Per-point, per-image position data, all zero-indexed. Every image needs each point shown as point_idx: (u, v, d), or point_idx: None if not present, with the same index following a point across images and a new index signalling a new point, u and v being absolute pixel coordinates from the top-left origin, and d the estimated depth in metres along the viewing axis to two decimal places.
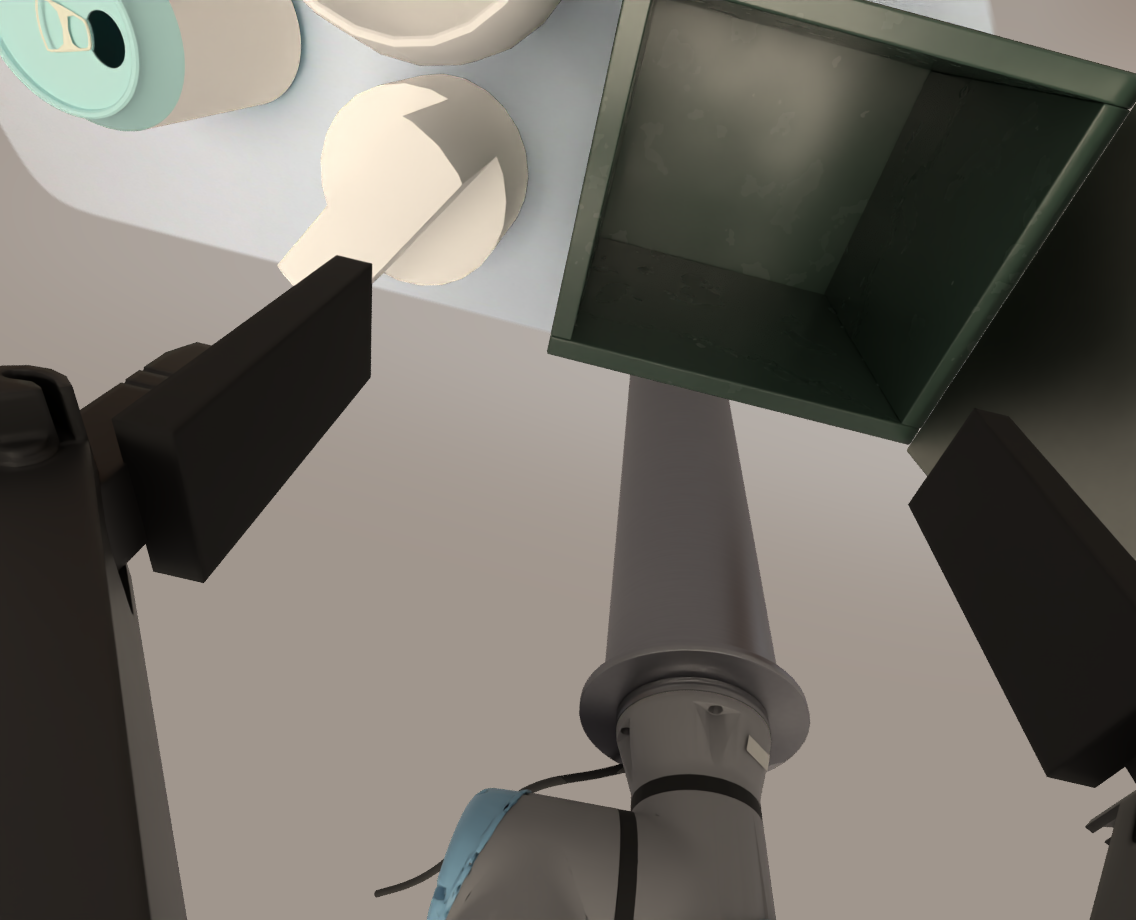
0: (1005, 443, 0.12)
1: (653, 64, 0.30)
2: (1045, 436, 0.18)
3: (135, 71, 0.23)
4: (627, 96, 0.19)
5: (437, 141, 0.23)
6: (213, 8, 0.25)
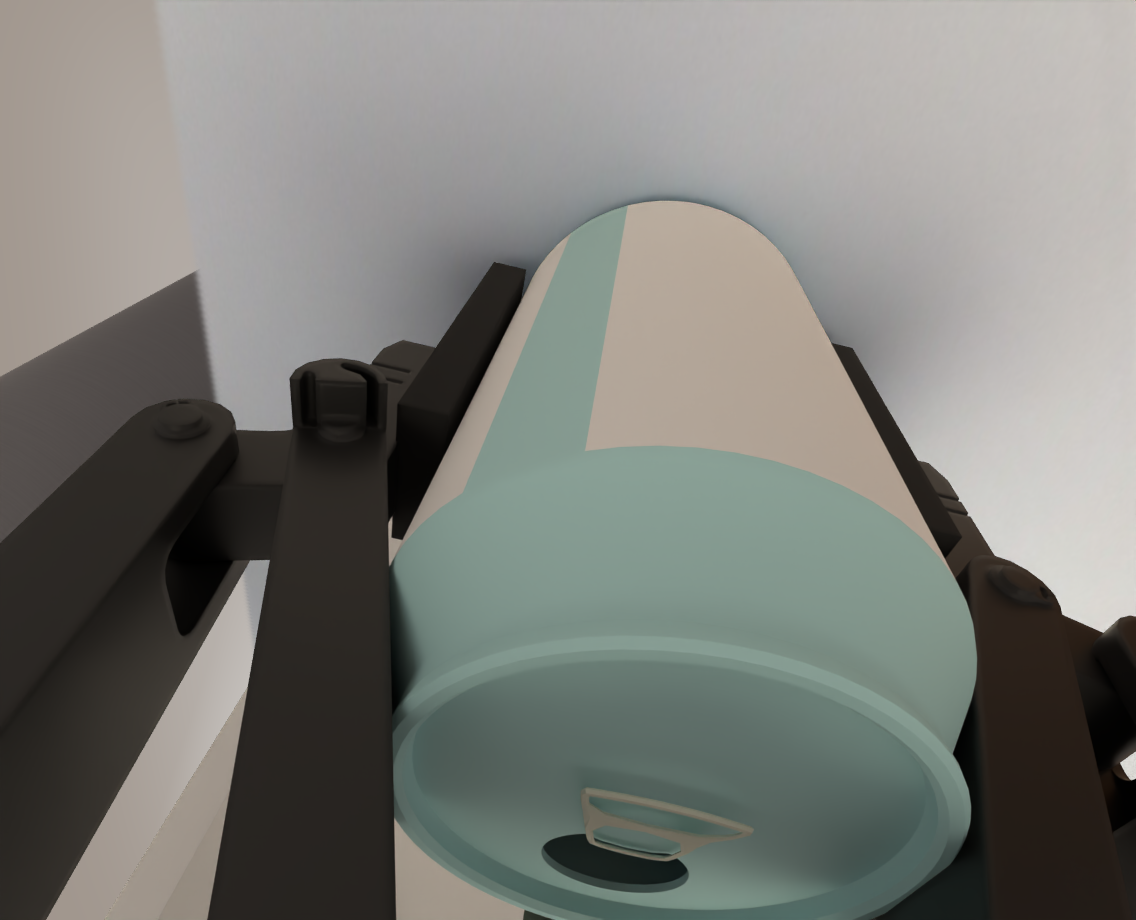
0: None
1: None
2: None
3: (534, 903, 0.08)
4: None
5: None
6: None
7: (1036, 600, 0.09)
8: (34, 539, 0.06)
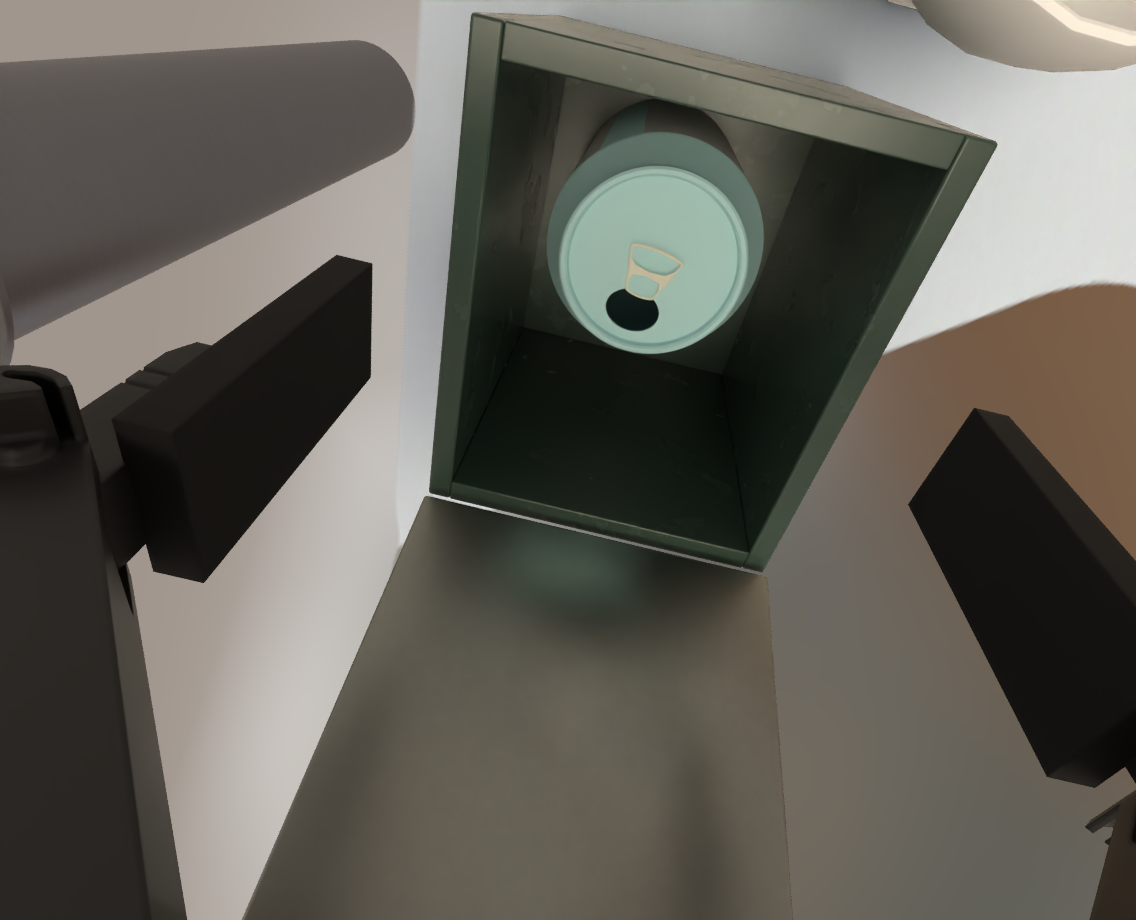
0: (1005, 443, 0.12)
1: None
2: (500, 629, 0.19)
3: (598, 334, 0.21)
4: (835, 140, 0.15)
5: None
6: None
7: None
8: None
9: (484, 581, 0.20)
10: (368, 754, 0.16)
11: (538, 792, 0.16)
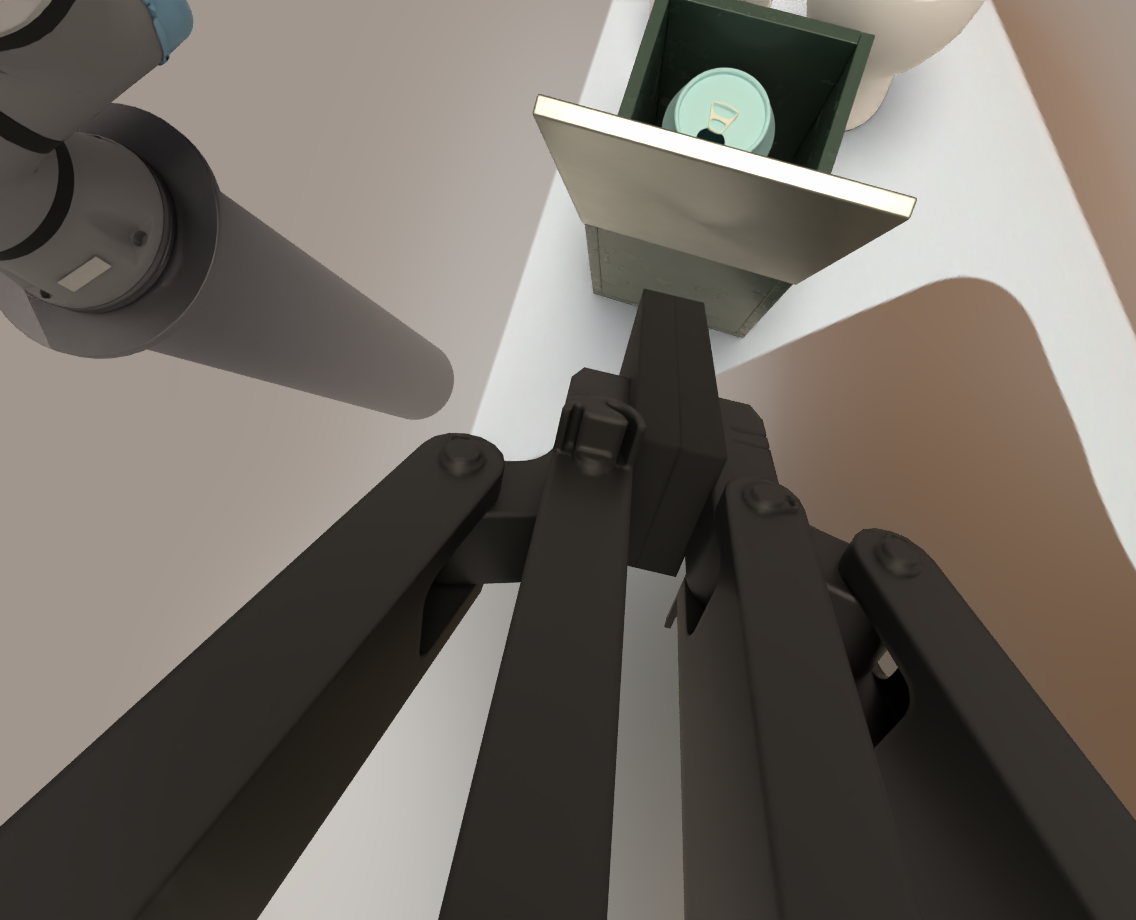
0: (677, 317, 0.14)
1: None
2: None
3: None
4: (809, 31, 0.36)
5: None
6: None
7: (784, 509, 0.09)
8: (337, 546, 0.07)
9: None
10: None
11: None
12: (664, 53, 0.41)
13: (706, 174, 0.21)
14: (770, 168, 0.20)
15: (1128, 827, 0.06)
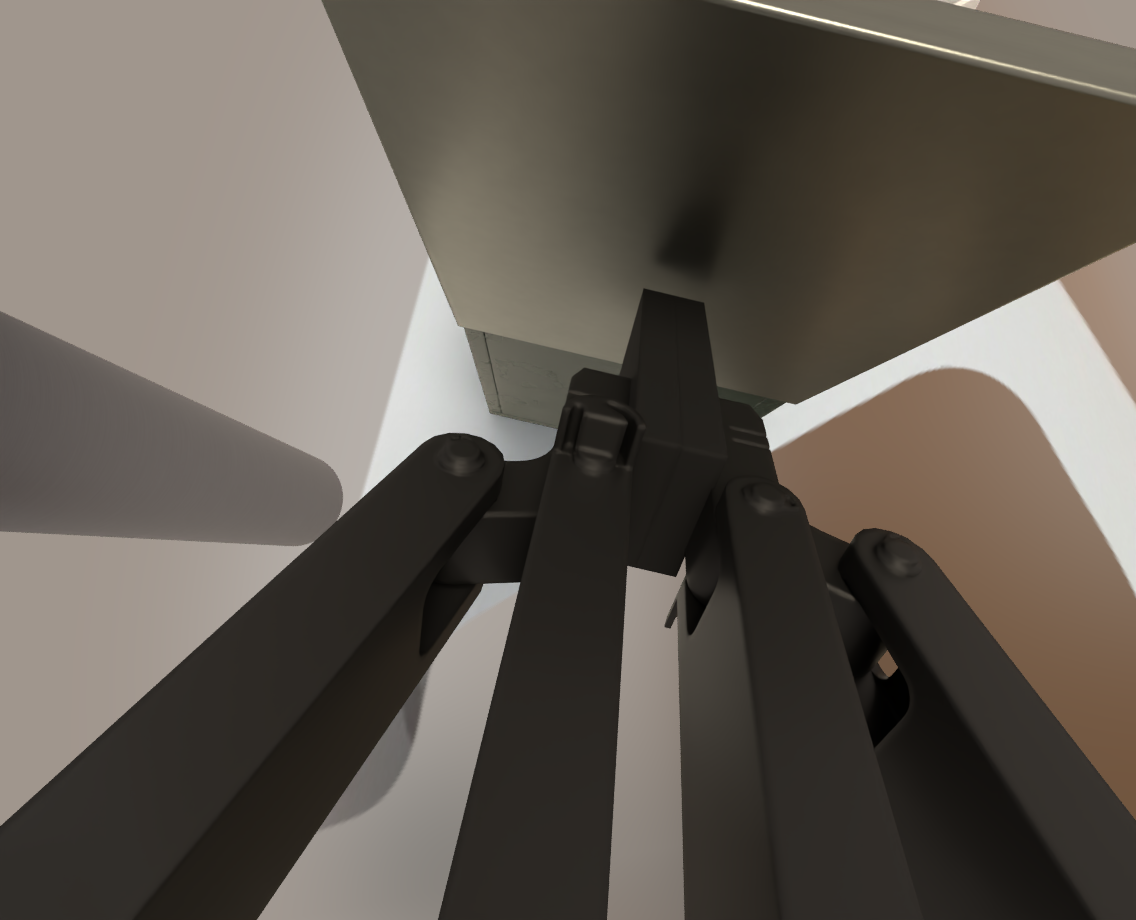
0: (677, 317, 0.14)
1: None
2: None
3: None
4: None
5: None
6: None
7: (785, 509, 0.09)
8: (337, 546, 0.07)
9: None
10: None
11: None
12: None
13: (760, 86, 0.08)
14: (958, 28, 0.07)
15: (1129, 827, 0.06)
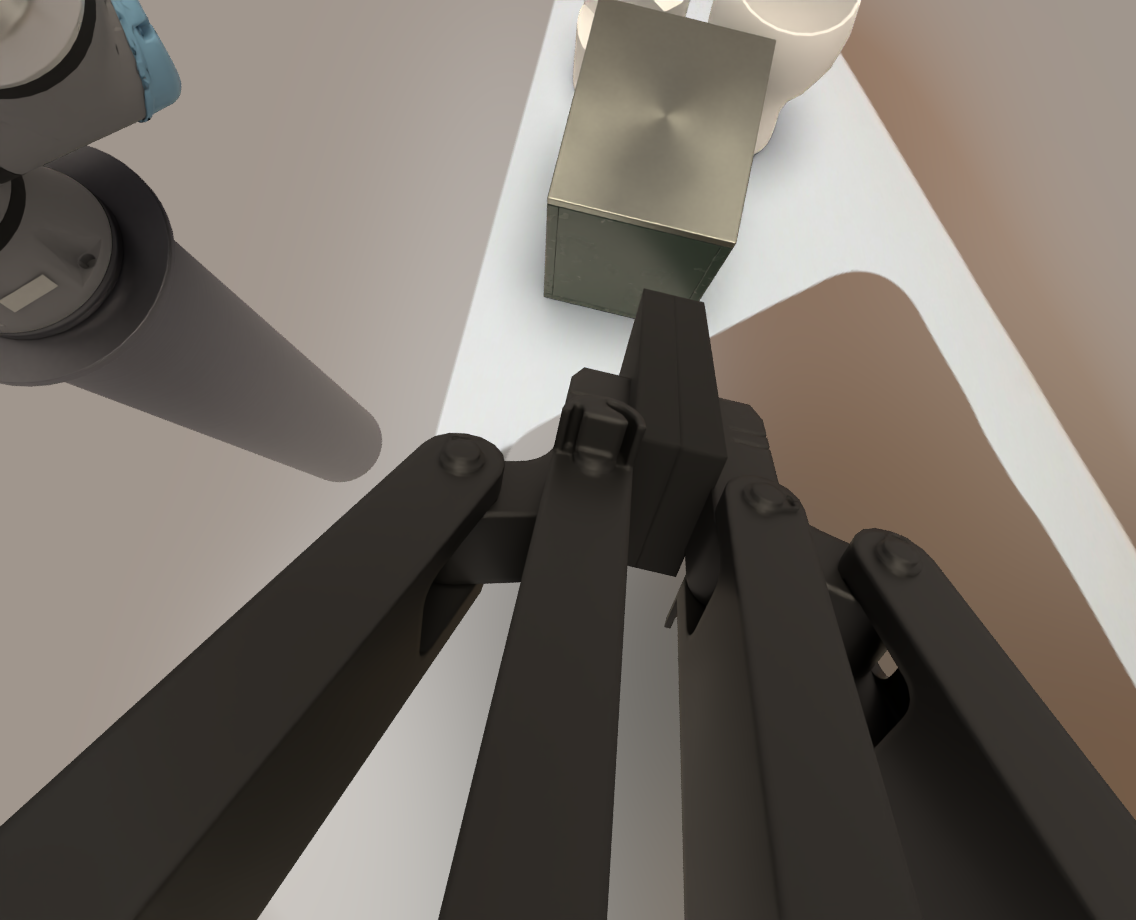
0: (677, 317, 0.14)
1: None
2: None
3: None
4: None
5: (681, 5, 0.48)
6: None
7: (784, 509, 0.09)
8: (337, 546, 0.07)
9: None
10: None
11: None
12: None
13: (682, 30, 0.43)
14: None
15: (1128, 827, 0.06)
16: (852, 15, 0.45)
